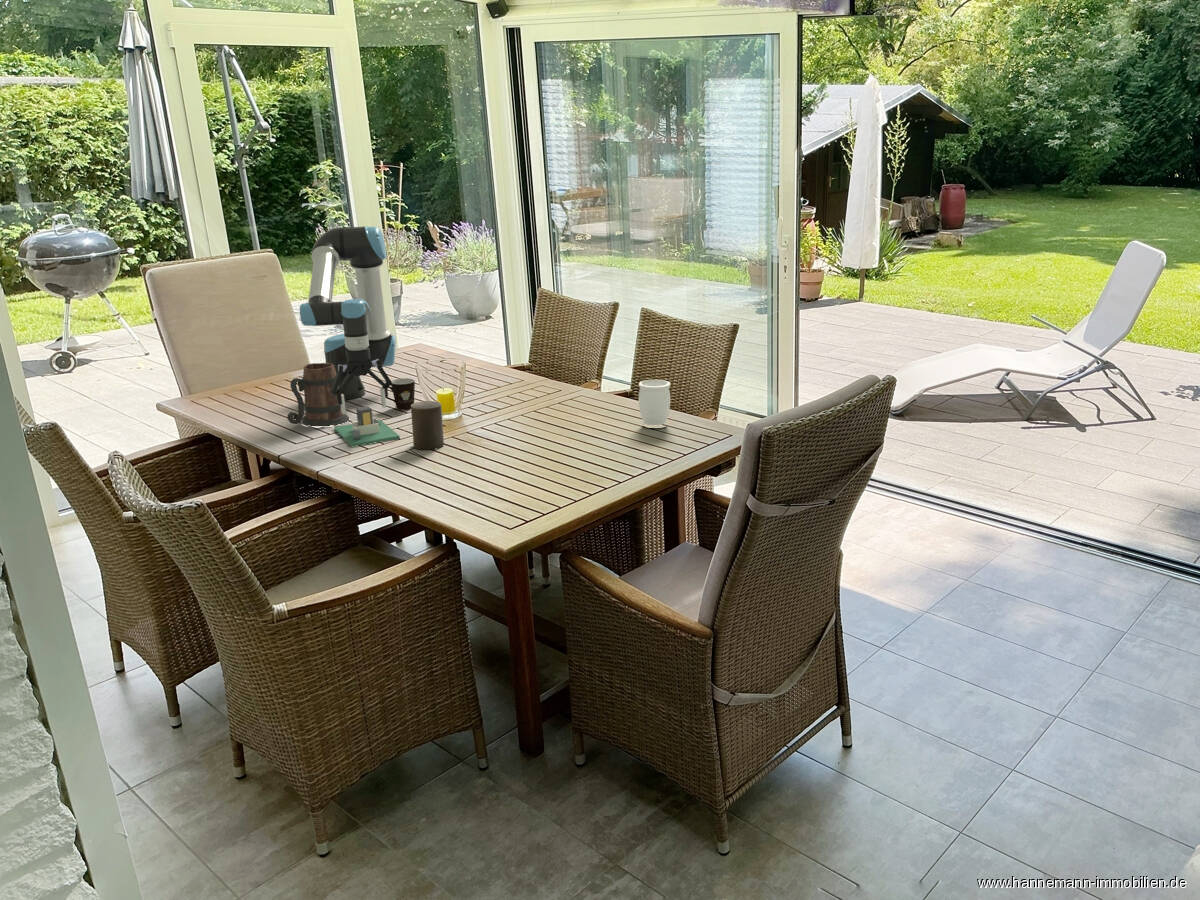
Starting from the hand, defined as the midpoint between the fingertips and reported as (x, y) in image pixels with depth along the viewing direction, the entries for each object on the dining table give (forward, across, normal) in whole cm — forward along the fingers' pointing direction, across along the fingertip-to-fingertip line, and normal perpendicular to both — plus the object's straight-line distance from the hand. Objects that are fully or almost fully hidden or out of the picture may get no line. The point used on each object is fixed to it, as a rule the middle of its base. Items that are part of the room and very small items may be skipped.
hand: (364, 410), depth 323 cm
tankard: (+9, -11, +22) cm, 26 cm away
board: (+8, 0, 0) cm, 8 cm away
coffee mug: (+9, +20, +25) cm, 33 cm away
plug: (+7, 0, 0) cm, 7 cm away
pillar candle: (+8, +14, -23) cm, 28 cm away
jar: (+8, +86, -45) cm, 97 cm away
